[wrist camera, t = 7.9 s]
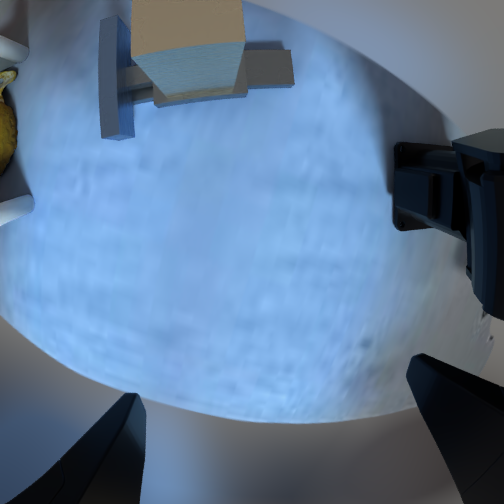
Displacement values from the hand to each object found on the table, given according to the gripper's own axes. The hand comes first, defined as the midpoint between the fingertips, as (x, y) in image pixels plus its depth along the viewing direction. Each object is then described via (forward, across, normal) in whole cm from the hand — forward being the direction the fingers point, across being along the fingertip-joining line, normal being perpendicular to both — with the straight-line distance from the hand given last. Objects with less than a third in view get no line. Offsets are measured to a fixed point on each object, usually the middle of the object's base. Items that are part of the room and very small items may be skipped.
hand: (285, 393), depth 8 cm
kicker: (+11, +4, -12) cm, 16 cm away
